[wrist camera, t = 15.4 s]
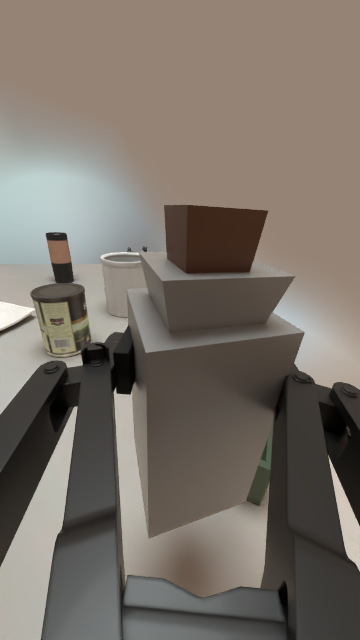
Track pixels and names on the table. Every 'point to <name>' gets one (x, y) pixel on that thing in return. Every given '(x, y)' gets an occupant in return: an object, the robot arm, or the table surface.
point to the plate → (12, 314)
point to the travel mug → (60, 257)
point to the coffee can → (62, 318)
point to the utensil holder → (121, 279)
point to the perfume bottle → (205, 363)
